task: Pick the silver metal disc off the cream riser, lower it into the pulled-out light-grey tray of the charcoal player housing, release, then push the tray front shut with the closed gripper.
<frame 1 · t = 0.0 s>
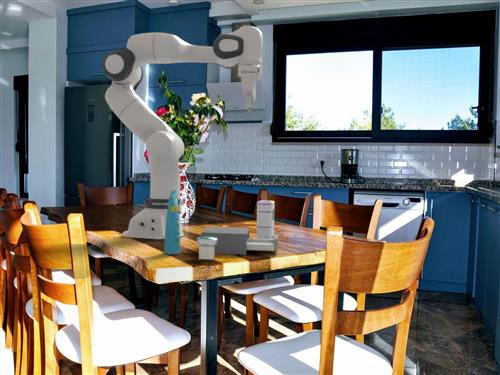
hand: (249, 109, 168), 48 cm above the table, fingers open, 8 cm apart
tube: (172, 253, 139), on the table
tray: (257, 241, 146), point 3 cm above the table, slide at 9.0 cm
disc: (207, 244, 133), point 4 cm above the table, touching riser
riser: (206, 257, 133), on the table
housing: (225, 249, 147), on the table
syrup box: (265, 240, 170), on the table
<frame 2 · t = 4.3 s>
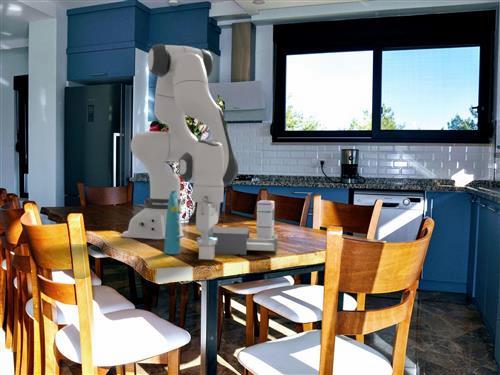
hand: (207, 243, 133), 4 cm above the table, fingers closed on disc, 6 cm apart
disc: (207, 244, 133), point 4 cm above the table, touching gripper, riser
everything else where it was.
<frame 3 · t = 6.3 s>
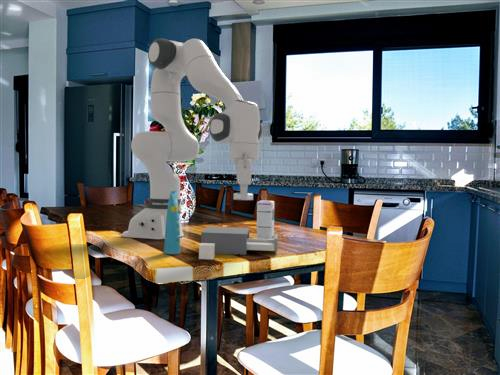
hand: (243, 198, 140), 17 cm above the table, fingers closed on disc, 6 cm apart
disc: (243, 199, 140), point 17 cm above the table, touching gripper
everything else where it was.
when the fingers open (4 cm above the table, at t = 8.7 s): disc drops 2 cm, resting on tray.
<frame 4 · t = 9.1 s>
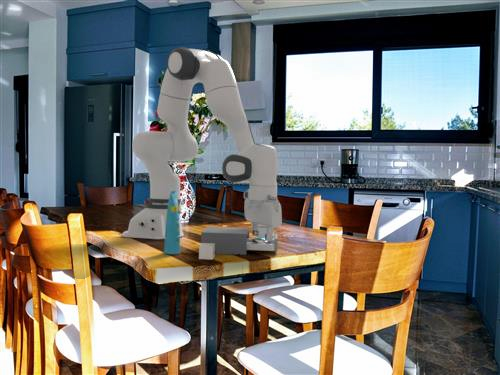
hand: (261, 237, 146), 4 cm above the table, fingers open, 8 cm apart
tray: (257, 241, 146), point 3 cm above the table, slide at 9.0 cm, touching disc
disc: (261, 244, 146), point 2 cm above the table, touching tray
everything else where it was.
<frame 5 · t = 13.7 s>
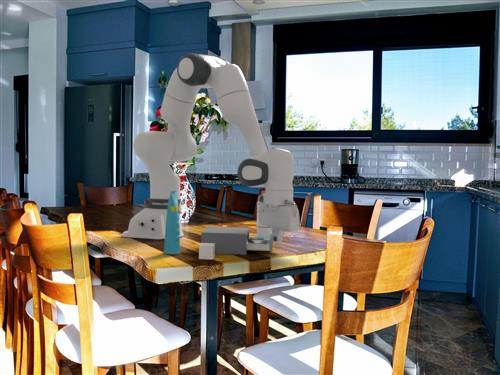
hand: (277, 242, 146), 3 cm above the table, fingers closed
tray: (252, 241, 146), point 3 cm above the table, slide at 7.5 cm, touching disc, gripper
disc: (257, 244, 146), point 2 cm above the table, touching tray
everything else where it was.
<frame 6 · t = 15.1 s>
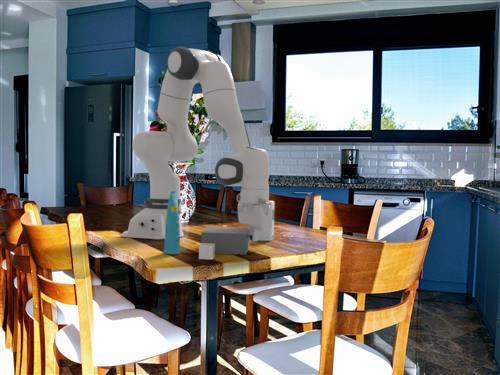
hand: (253, 240, 146), 3 cm above the table, fingers closed
tray: (229, 240, 146), point 3 cm above the table, slide at 0.0 cm, touching disc, gripper
disc: (233, 243, 146), point 2 cm above the table, touching tray
everything else where it was.
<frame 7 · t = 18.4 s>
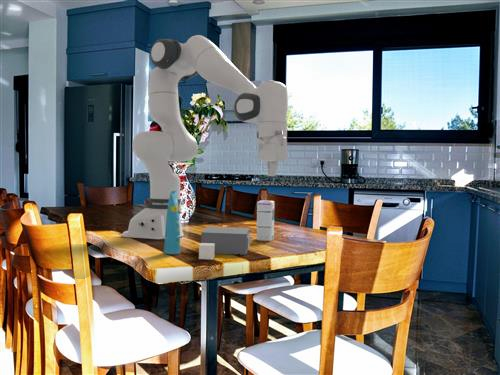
hand: (271, 176, 145), 24 cm above the table, fingers closed
tray: (229, 240, 146), point 3 cm above the table, slide at 0.0 cm, touching disc
everything else where it was.
at the end: tray slide at 0.0 cm; disc inside the target area on the housing (2.2 cm from its centre), point 2.1 cm above the housing's base; the gripper is holding nothing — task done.
